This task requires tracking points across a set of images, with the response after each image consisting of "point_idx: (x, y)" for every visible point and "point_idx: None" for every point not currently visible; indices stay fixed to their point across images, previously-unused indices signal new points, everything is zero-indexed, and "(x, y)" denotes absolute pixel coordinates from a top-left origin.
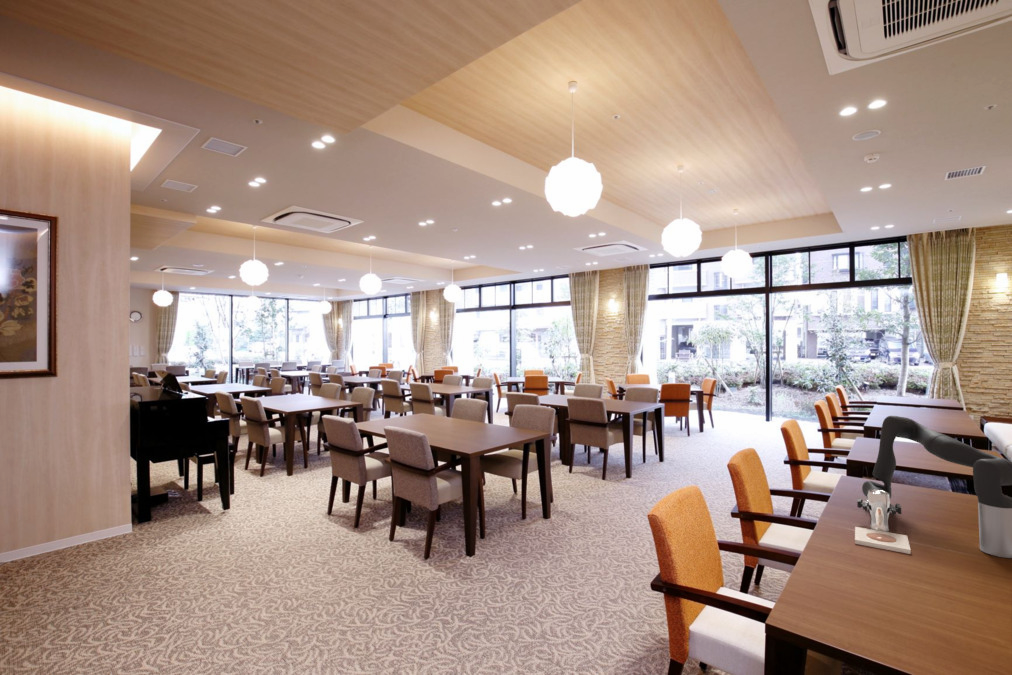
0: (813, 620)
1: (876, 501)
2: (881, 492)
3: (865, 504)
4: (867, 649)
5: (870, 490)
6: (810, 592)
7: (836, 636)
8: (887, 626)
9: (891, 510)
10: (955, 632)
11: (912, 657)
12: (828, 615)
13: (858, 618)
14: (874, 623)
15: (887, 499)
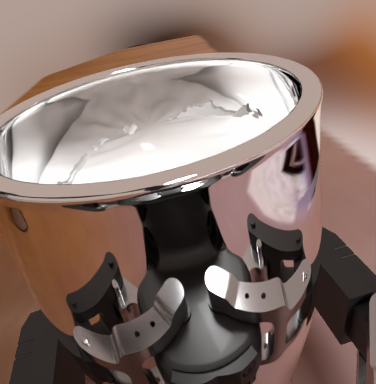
0: (175, 44)
1: (177, 151)
2: (108, 228)
3: (331, 255)
4: (133, 49)
5: (300, 89)
6: (196, 53)
7: (154, 46)
8: (122, 62)
9: (69, 369)
10: (66, 81)
11: (105, 57)
12: (168, 50)
13: (145, 57)
14: (132, 60)
15: (56, 169)
